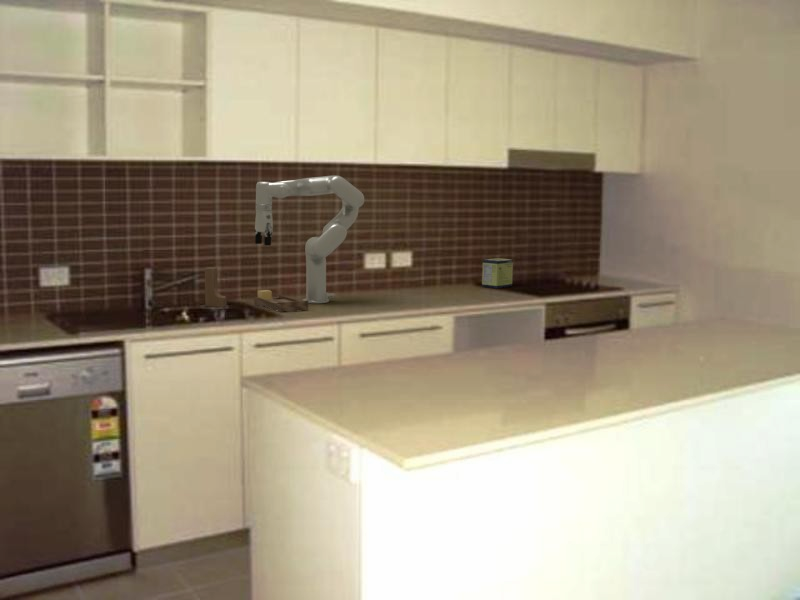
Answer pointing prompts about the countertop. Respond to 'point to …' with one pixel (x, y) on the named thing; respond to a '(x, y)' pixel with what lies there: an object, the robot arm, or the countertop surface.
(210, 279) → the wooden block
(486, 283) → the protein box
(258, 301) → the trap board
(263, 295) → the block
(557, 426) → the countertop surface
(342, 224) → the robot arm
